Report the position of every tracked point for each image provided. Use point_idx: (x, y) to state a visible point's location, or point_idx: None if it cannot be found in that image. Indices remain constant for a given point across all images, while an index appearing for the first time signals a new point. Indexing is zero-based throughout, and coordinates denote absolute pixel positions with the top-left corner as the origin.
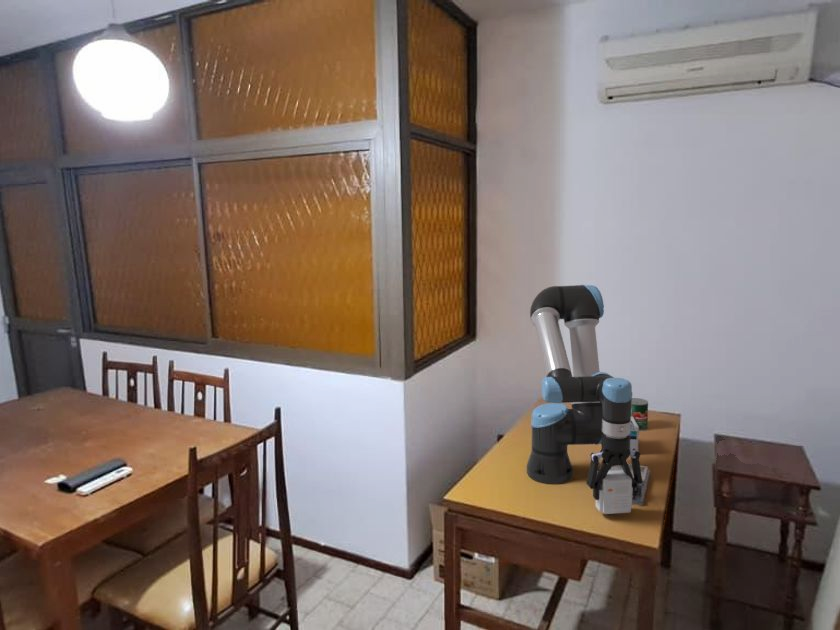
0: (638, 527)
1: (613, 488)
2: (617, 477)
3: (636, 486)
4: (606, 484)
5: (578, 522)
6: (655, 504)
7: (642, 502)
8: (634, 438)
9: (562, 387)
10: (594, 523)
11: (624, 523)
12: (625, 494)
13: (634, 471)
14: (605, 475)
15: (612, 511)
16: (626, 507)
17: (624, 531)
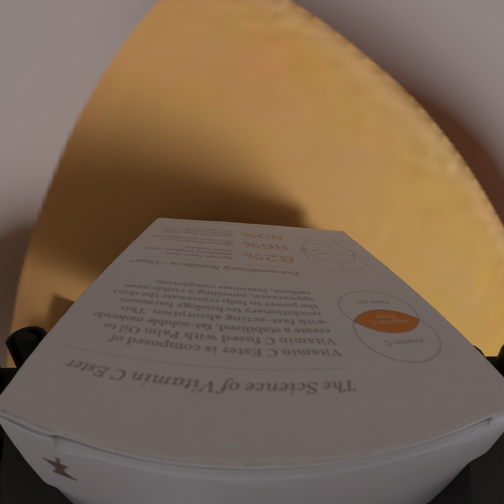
0: (171, 105)
1: (356, 335)
2: None
3: (21, 334)
4: (476, 370)
5: (448, 225)
6: (26, 299)
7: (65, 311)
8: None
9: None
10: (394, 197)
11: (232, 158)
12: (172, 274)
13: None
14: (480, 497)
15: (290, 230)
16: (183, 228)
17: (276, 81)
